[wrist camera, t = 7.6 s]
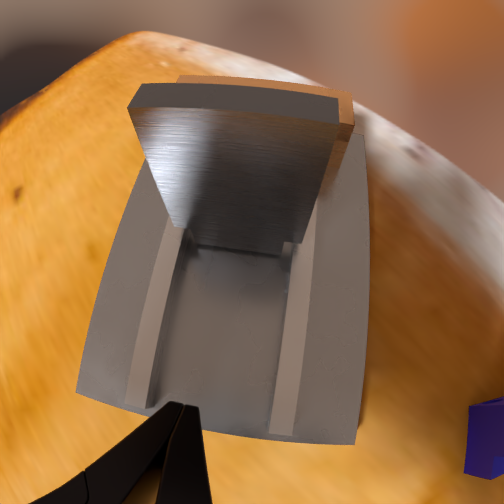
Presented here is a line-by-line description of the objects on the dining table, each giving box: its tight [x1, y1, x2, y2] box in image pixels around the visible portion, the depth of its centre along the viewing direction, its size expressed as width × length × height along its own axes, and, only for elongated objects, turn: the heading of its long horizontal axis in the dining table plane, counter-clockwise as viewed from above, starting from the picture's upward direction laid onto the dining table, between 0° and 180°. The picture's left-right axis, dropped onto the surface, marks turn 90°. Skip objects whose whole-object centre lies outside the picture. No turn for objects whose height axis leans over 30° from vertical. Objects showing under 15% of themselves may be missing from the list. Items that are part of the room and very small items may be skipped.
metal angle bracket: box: [127, 83, 340, 255], centre depth 14 cm, size 10×6×9 cm, turn 171°
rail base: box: [76, 75, 370, 445], centre depth 15 cm, size 19×14×5 cm
